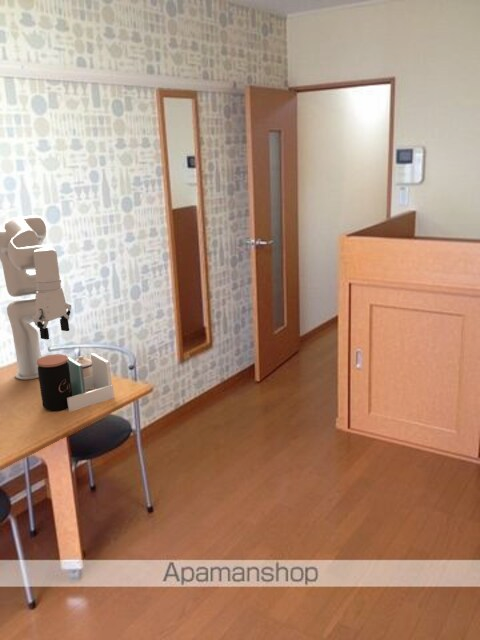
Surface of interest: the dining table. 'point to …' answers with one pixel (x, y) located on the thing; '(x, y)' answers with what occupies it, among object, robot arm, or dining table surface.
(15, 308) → the robot arm
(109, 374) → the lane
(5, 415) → the dining table surface
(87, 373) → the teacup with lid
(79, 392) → the plate
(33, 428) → the dining table surface
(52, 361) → the coffee jar
